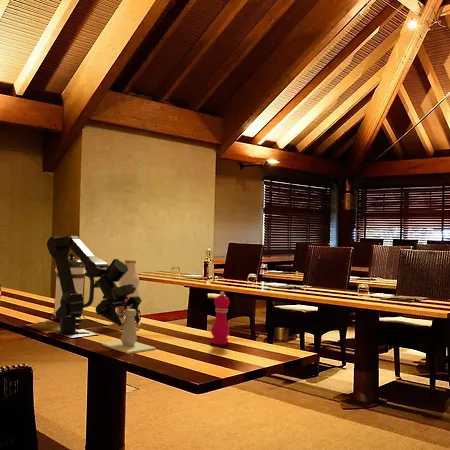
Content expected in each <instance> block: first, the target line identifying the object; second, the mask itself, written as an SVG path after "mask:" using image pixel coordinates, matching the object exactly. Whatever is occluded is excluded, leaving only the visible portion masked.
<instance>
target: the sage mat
mask: <svg viewBox="0 0 450 450" xmlns="http://www.w3.org/2000/svg"><path fill="white" fill-rule="evenodd" d="M101 345H102V346H104V347H107V348H110V349H113V350H115V351H118V352H122V353H125V354H128V355H129V354H133V353H134V354H135V353H142V352H147V351H148V352H149V351H154V350H157V347H154V346H152V345H148V344H145V343H141V342H138V341H136V343H135V344H134V346H130V347H128V346H123V344H122V341H121V340H117V341H116V340H115V341H108V342H102V343H101Z"/></svg>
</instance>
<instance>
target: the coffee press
mask: <svg viewBox="0 0 450 450" xmlns="http://www.w3.org/2000/svg"><path fill="white" fill-rule="evenodd" d="M74 257H75V253H74V252H69V254H68V260H69V265H70V269H71V274H72V278H73V282H74V287H75V291H76V292H77V293H78V294H82V297H83V301H85V299H84V298H85V284H86V283H85V281H86V280H85V279H86V277H87V278H89V297H88V301H87V302H86V303H84V309H85V308H88V307H90V306H91V305H92V304H93V302H94V296H95V288H94V284H95V278H91V277H90V276H89V275H88V273H87V272H86V270H85V265H84V263H83V262H82V261H81V260H80V259H79V258H74ZM54 271H55V290H54V309H53V314H52V315H51V316H50V319H51V320H56V319H57V318H56V315H55V312H56V311H57V310H58V309H59V307H60V306H61V305H60V300H61V297H62V289H61V284H60V280H59V275H58V271H57V266H56V265H55V270H54ZM53 316H55V317H54V318H53ZM82 317H83V318H82ZM76 319H80V320H81V321H82V322H85V320H86V317H85V316H84V310H83V311H82V314H81V317H76Z"/></svg>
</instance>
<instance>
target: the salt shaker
mask: <svg viewBox="0 0 450 450" xmlns="http://www.w3.org/2000/svg"><path fill="white" fill-rule="evenodd" d="M124 315H125V316H126V318H125V322H124V324H123V327H122V330H121V336H120V341H122V344H123V346H128V347H130V346H134V344H135V343H136V342H138V341H137V340H138V336H137V329H136V328H137V327H136V323H135V318H134V316H136V310H134V309H126V310H125V312H124Z"/></svg>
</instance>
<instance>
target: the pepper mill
mask: <svg viewBox="0 0 450 450" xmlns="http://www.w3.org/2000/svg"><path fill="white" fill-rule="evenodd" d="M213 301H214V303H213V304H214V306H215V308H214V309H215V310H214V312H215V318H214V322H213V324H212V326H211V329H210V330H211V331H210V333H211V335H212V338H211V343H212V344H214V345H227V344H228V343H229V338H228V336H229V335H230V332H231V331H230V326H229V324H228V319H227V313H228V312H229V308H228V307H230V303H231V302H230V299H229V297H228V296H226V294H225V291H220V292H219V295H217V296H216V297H215V298H214V300H213ZM226 343H227V344H226Z"/></svg>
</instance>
